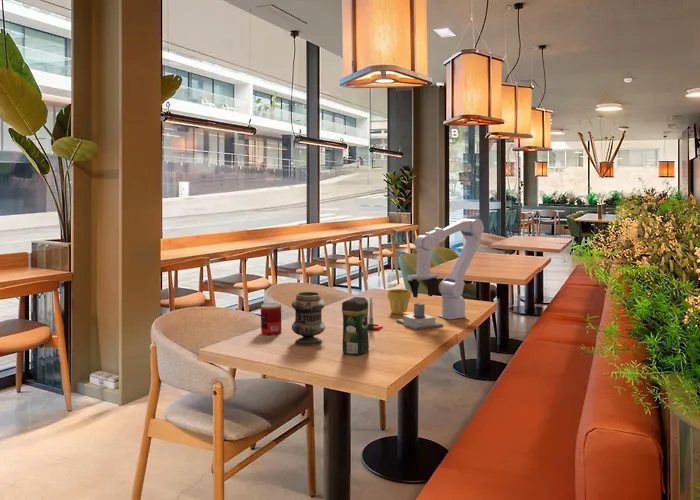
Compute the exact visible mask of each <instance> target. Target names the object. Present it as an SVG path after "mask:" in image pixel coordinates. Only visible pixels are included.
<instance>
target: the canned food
mask: <svg viewBox="0 0 700 500" xmlns="http://www.w3.org/2000/svg"><path fill="white" fill-rule="evenodd" d="M282 329H283V328H282V304H280V303H279V302H267V303H262V304H261V305H260V331H261V334H262V335H263V336H264V335H265V336H276V335H280V334H281V333H282Z"/></svg>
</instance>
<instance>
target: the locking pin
mask: <svg viewBox="0 0 700 500" xmlns="http://www.w3.org/2000/svg"><path fill="white" fill-rule="evenodd" d="M413 313H414V317H416V318H423V317H424V314H425V304H424V303H421V302H418V303H413Z"/></svg>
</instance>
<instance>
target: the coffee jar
mask: <svg viewBox="0 0 700 500" xmlns="http://www.w3.org/2000/svg"><path fill="white" fill-rule="evenodd" d="M341 312H342V313H341V314H342V352H343V353H344V354H346V355H349V356H354V355H357V356H358V355H362V354H365V353H366V352H368V351H369V349H370V342H369V330H368V323H369V316H368V315H369V302H368V300H367V299H366V298H365V297H361V296H353V297H352V298H350V299H347V300H344V301H342V303H341Z"/></svg>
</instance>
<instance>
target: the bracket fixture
mask: <svg viewBox="0 0 700 500" xmlns="http://www.w3.org/2000/svg"><path fill="white" fill-rule="evenodd" d="M395 322H396V323H399V324H401V325H404V326H405V327H407V328H410V329H413V330H415V331H420V330H421V331H422V330H428V329H437V328H440V327H441V328H442V327H444V324H443V323H441V322H437V321H436V316H431V315H430V314H426V313H424V317H423V318H416V317H414V312H413V311H407V312H403V314H402V318H398V319H396V320H395Z"/></svg>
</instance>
